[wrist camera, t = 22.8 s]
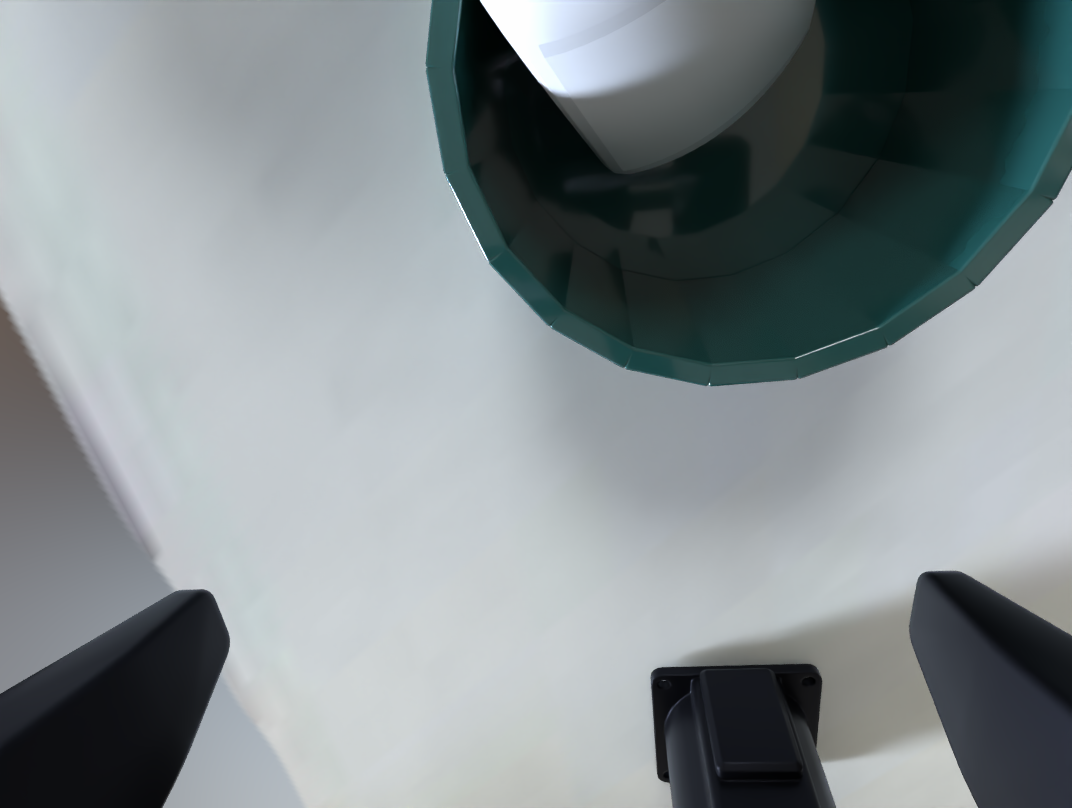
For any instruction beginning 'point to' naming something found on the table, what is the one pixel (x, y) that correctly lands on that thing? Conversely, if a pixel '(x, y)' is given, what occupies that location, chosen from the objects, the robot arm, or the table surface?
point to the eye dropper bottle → (653, 66)
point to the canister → (770, 188)
